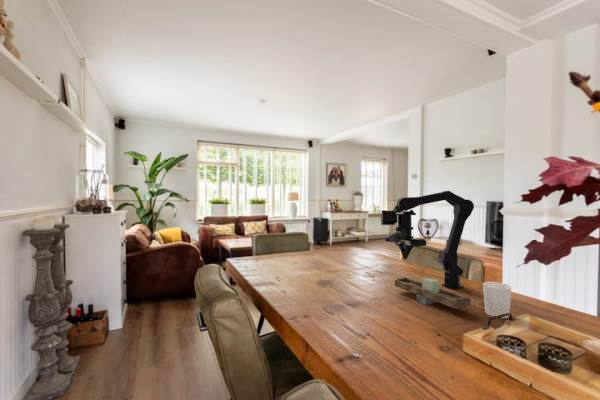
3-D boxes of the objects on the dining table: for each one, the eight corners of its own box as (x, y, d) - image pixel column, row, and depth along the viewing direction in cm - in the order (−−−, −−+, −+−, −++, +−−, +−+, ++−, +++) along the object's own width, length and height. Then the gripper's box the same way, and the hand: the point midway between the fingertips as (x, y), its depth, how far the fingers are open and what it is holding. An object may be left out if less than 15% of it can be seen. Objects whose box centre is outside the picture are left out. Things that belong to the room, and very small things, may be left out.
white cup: (516, 320, 91) (516, 289, 91) (489, 318, 92) (489, 288, 92) (504, 310, 98) (503, 282, 98) (479, 308, 100) (479, 281, 100)
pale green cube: (422, 290, 108) (422, 278, 108) (429, 288, 110) (429, 277, 110) (432, 293, 104) (432, 281, 104) (439, 292, 106) (439, 280, 106)
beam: (393, 292, 118) (393, 279, 118) (408, 289, 122) (408, 276, 122) (455, 317, 93) (455, 300, 93) (472, 312, 97) (472, 296, 97)
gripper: (376, 224, 132) (377, 257, 132) (409, 228, 115) (409, 265, 116) (393, 223, 137) (394, 254, 137) (427, 226, 121) (427, 262, 121)
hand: (405, 259), depth 128 cm, fingers closed
